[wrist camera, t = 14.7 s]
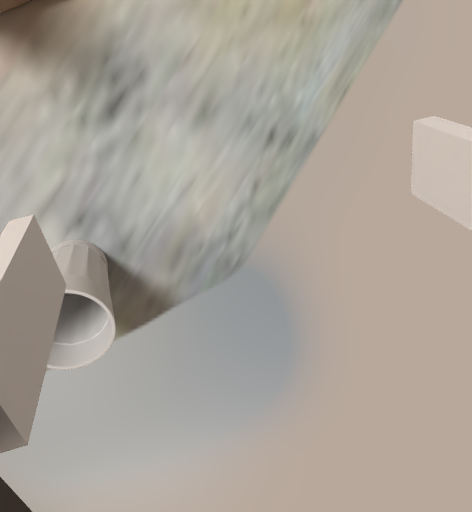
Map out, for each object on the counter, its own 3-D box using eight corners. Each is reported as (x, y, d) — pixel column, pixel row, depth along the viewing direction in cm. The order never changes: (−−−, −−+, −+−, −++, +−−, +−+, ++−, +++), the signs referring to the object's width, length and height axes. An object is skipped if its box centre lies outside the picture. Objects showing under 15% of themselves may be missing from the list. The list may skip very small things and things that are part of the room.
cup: (108, 227, 45) (106, 282, 35) (120, 292, 49) (122, 359, 38) (27, 237, 43) (0, 299, 33) (46, 303, 47) (27, 377, 37)
